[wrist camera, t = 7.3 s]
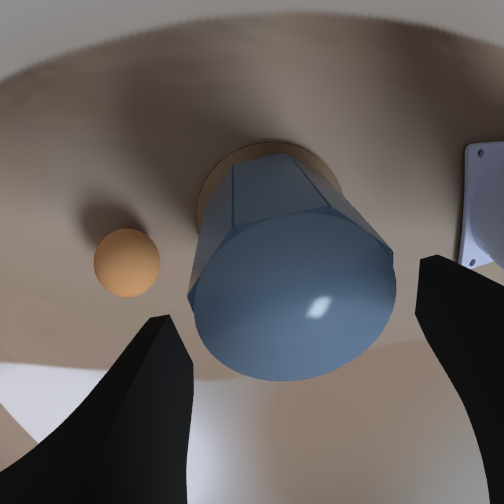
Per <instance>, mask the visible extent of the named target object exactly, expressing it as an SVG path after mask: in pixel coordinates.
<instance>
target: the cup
mask: <svg viewBox="0 0 504 504" xmlns="http://www.w3.org/2000/svg"><path fill="white" fill-rule="evenodd" d="M395 297H396V278H395V272H394V269H393V251H392V249H391V248H390V247H389V246H388V245H387V243H386V242H385V241H384V240H383V239H382V238H381V237H380V235H379V234H378V233H377V232H376V231H375V230H374V229H373V228H372V226H371V225H370V224H369V223H368V222H367V221H366V220H365V219H364V218H363V217H362V216H361V214H360V213H359V212H358V211H357V210H356V209H355V208H354V207H353V206H352V205H351V204H350V203H349V202H348V201H347V200H346V198H345V197H344V196H343V195H342V194H341V193H340V192H339V191H338V190H337V189H336V188H335V187H334V186H333V185H332V184H331V183H330V182H329V181H328V180H326V179H325V178H324V177H322V176H321V175H319V174H318V173H316V172H315V171H314V170H312V169H311V168H309V167H308V166H306V165H305V164H303V163H302V162H300V161H299V160H297V159H296V158H294V157H293V156H291V155H290V154H286V153H282V154H277V155H272V156H267V157H262V158H258V159H253V160H248V161H244V162H239V163H235V164H234V166H233V165H232V166H231V167H230V169H229V170H228V172H227V173H226V175H225V177H224V178H223V180H222V181H221V183H220V184H219V186H218V188H217V189H216V191H215V192H214V194H213V196H212V197H211V199H210V200H209V202H208V204H207V205H206V207H205V211H204V215H203V220H202V224H201V229H200V234H199V239H198V243H197V248H196V253H195V258H194V263H193V268H192V273H191V278H190V283H189V289H188V295H187V298H188V301H189V303H190V306H191V308H192V310H193V313H194V317H195V324H196V327H197V330H198V333H199V336H200V338H201V340H202V341H203V343H204V345H205V346H206V348H207V349H208V350H209V352H210V353H211V354H212V355H213V356H214V357H215V358H216V359H217V360H219V361H220V362H221V363H223V364H224V365H225V366H227V367H229V368H231V369H232V370H234V371H236V372H239V373H241V374H243V375H246V376H250V377H253V378H257V379H262V380H269V381H296V380H303V379H308V378H313V377H316V376H320V375H323V374H326V373H328V372H331V371H333V370H335V369H338V368H340V367H341V366H343V365H345V364H347V363H348V362H350V361H352V360H353V359H355V358H356V357H357V356H359V355H360V354H361V353H363V352H364V351H365V350H366V349H367V348H368V347H369V346H370V345H371V344H372V343H373V342H374V341H375V340H376V339H377V337H378V336H379V335H380V333H381V332H382V331H383V329H384V327H385V326H386V324H387V322H388V320H389V318H390V315H391V313H392V310H393V307H394V303H395Z"/></svg>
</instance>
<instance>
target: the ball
mask: <svg viewBox="0 0 504 504" xmlns="http://www.w3.org/2000/svg"><path fill="white" fill-rule="evenodd" d="M159 269H160V257H159V253H158V250H157V248H156V246H155V244H154V243H153V241H152V240H151V239H150V238H149V237H148V236H147V235H146V234H144V233H142V232H140V231H138V230H135V229H128V228H125V229H119V230H116V231H113V232H111V233H109V234H108V235H107V236H105V237H104V238H103V240H102V241H101V242H100V243H99V245H98V247H97V249H96V252H95V255H94V270H95V274H96V276H97V279H98V280H99V282H100V284H101V285H102V286H103V287H104V288H105V289H106V290H107V291H109V292H110V293H112V294H114V295H117V296H120V297H134V296H138V295H140V294H142V293H144V292H146V291H147V290H148V289H149V288H150V287H151V286H152V285H153V284H154V282H155V281H156V279H157V276H158V273H159Z"/></svg>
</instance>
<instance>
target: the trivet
mask: <svg viewBox="0 0 504 504" xmlns="http://www.w3.org/2000/svg"><path fill="white" fill-rule="evenodd" d="M282 153H286V154H290V155H291V156H293V157H294V158H296V159H297V160H299V161H300V162H302V163H303V164H305V165H306V166H308V167H309V168H311V169H312V170H314V171H315V172H316V173H318V174H319V175H321V176H322V177H324V178H325V179H326V180H328V181H329V182H330V183H331V184H332V185H333V186H334V187H335V188H336V189H337V190H338V191H339V192H340V193H341V194H342V195H343V193H342V190H341V187H340V185H339V183H338V181H337V179H336V177H335V175H334V174H333V173H332V171H331V170H330V169H329V168H328V166H327V165H326V164H325V163H324V162H323V161H321V160H320V159H319V158H318V157H316V156H315V155H314V154H312V153H310V152H309V151H307V150H305V149H303V148H301V147H298V146H295V145H291V144H288V143H281V142H264V143H257V144H253V145H250V146H246V147H244V148H241V149H239V150H237V151H235V152H233V153H232V154H230V155H229V156H227V157H226V158H225V159H223V160H222V161H221V162H220V163H219V164H218V165H217V166H216V167H215V168H214V169H213V170H212V172H211V173H210V174H209V176H208V177H207V179H206V181H205V183H204V185H203V187H202V190H201V193H200V196H199V199H198V204H197V215H196V218H197V227H198V231H199V234H200V229H201V224H202V220H203V215H204V211H205V207H206V205H207V204H208V202H209V200H210V199H211V197H212V196H213V194H214V192H215V191H216V189H217V188H218V186H219V184H220V183H221V181H222V180H223V178H224V177H225V175H226V173H227V172H228V170H229V169H230V167H231V166H232V165H233V166H234V164H235V163H239V162H244V161H248V160H253V159H258V158H262V157H267V156H272V155H277V154H282Z"/></svg>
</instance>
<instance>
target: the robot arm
mask: <svg viewBox="0 0 504 504" xmlns="http://www.w3.org/2000/svg"><path fill="white" fill-rule="evenodd" d="M479 149H480V154H479V155H478V151H479ZM471 260H472V261H471ZM470 261H471V262H470ZM493 261H495V262H496V263H497V264H498V265H499V266H500V267H501V268H502V269H504V141H497V142H484V143H473V144H469V145H468V146H467V147H466V149H465V190H464V210H463V224H462V235H461V245H460V253H459V261H458V263H456V262H454V261H452V260H450V259H447V258H445V257H443V256H440V255H434V256H430V257H426V258H423V259H420V267H419V280H418V290H417V300H416V309H415V315H416V317H417V320H418V322H419V324H420V326H421V329H422V331H423V333H424V335H425V337H426V339H427V341H428V343H429V345H430V346H431V348H432V350H433V352H434V353H435V355H436V357H437V358H438V360H439V362H440V363H441V365H442V367H443V368H444V370H445V372H446V373H447V375H448V377H449V378H450V380H451V382H452V384H453V385H454V387H455V389H456V391H457V392H458V394H459V396H460V398H461V400H462V402H463V404H464V406H465V409H466V411H467V414H468V416H469V419H470V422H471V424H472V427H473V430H474V433H475V436H476V439H477V442H478V446H479V449H480V452H481V456H482V460H483V464H484V469H485V473H486V478H487V484H488V490H489V499H490V504H504V286H503V285H501V284H499V283H497V282H495V281H493V280H491V279H489V278H487V277H485V276H483V275H481V274H479V273H477V272H475V271H473V270H471V269H472V268H475V267H478V266H481V265H484V264H487V263H490V262H493ZM193 396H194V376H193V362H192V360H191V358H190V356H189V354H188V352H187V350H186V348H185V346H184V344H183V342H182V340H181V338H180V336H179V334H178V332H177V330H176V327H175V325H174V323H173V321H172V319H171V317H170V315H163V316H158V317H152V318H149V320H148V321H147V322H146V323H145V324H144V325H143V327H142V328H141V329H140V330H139V332H138V333H137V334H136V335H135V337H134V338H133V339H132V341H131V342H130V343H129V345H128V346H127V347H126V349H125V350H124V351H123V352H122V354H121V355H120V356H119V358H118V359H117V360H116V362H115V363H114V364H113V365H112V367H111V368H110V369H109V371H108V372H107V373H106V374H105V375H104V377H103V378H102V379H101V380H100V381H99V383H98V384H97V385H96V386H95V388H94V389H93V390H92V391H91V392H90V394H89V395H88V396H87V397H86V398H85V399H84V401H83V402H82V403H81V404H80V405H79V406H78V407H77V408H76V410H75V411H73V412H72V414H71V415H70V416H69V417H68V418H67V419H66V420H65V421H64V422H63V423H62V424H61V425H60V426H59V427H58V428H56V429H55V430H54V431H53V432H52V433H51V434H50V435H48V436H47V437H46V438H45V439H44V440H43V441H42V442H40V443H39V444H38V445H37V446H36V447H35V448H33V449H32V450H31V451H30V452H28V453H27V454H26V455H24V456H23V457H22V458H20V459H19V460H18V461H16V462H15V463H13V464H12V465H10V466H9V467H7V468H6V469H4V470H3V471H1V472H0V504H187V486H186V485H187V484H186V464H187V451H188V442H189V433H190V423H191V414H192V405H193Z"/></svg>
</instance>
